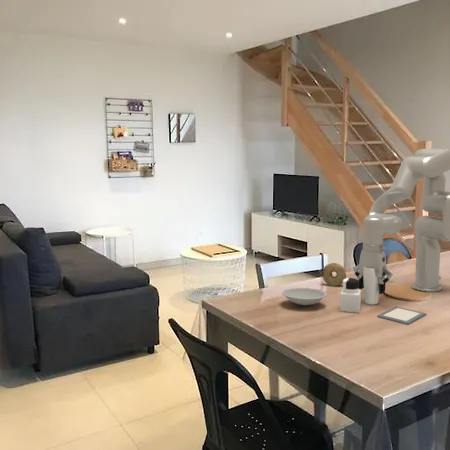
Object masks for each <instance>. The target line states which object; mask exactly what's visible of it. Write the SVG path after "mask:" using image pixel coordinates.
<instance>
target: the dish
mask: <svg viewBox="0 0 450 450" xmlns="http://www.w3.org/2000/svg"><path fill="white" fill-rule="evenodd" d="M281 293H282V294H281V295H283V296H284V297H285V298H286V299H287V300H289V301H290V302H292V303H294V304H295V305H301V306H303V307H307V306H309V305H315V304H317V303H319V302H320V301H322V300H323V299H324V298H326V297H327V296H328V294H327V292H325V291H324V290H322V289H317V288H309V287H308V288H307V287H293V288H286V289H284V290H283V291H282V292H281Z"/></svg>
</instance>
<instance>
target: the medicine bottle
mask: <svg viewBox="0 0 450 450" xmlns="http://www.w3.org/2000/svg"><path fill="white" fill-rule="evenodd" d="M361 297H362V289H361V290H360V289H359V280H358V279H357V278H354V277H346V279H344V280H343V283H342V288H341V291H340V295H339V299H340V300H339V311H340V312H347V313H357V314H358V313H360V310H361V304H362V302H361V301H362V300H361V299H362V298H361Z"/></svg>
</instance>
